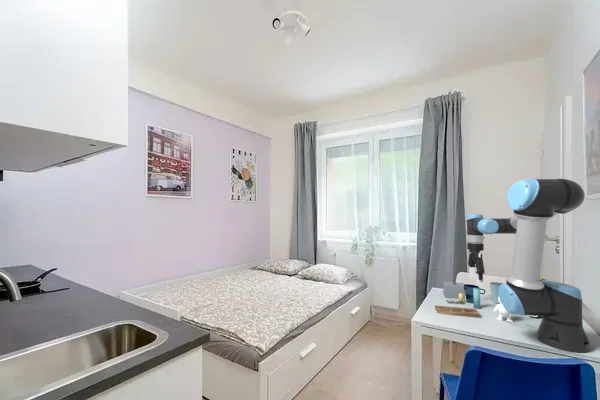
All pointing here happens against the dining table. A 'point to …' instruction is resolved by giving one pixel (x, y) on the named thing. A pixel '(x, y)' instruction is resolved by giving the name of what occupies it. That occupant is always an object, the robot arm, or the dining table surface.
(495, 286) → the cup
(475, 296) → the peg
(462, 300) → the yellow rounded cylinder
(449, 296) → the housing
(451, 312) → the socket board
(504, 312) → the figurine
